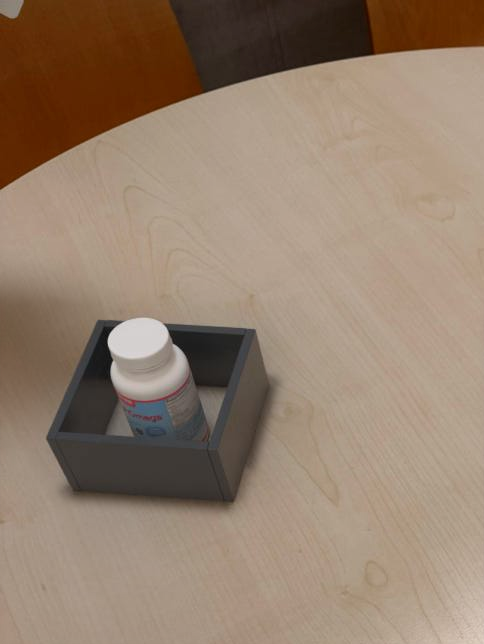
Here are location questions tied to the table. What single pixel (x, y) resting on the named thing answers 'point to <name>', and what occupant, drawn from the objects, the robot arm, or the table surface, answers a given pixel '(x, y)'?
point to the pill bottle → (155, 383)
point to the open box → (154, 453)
